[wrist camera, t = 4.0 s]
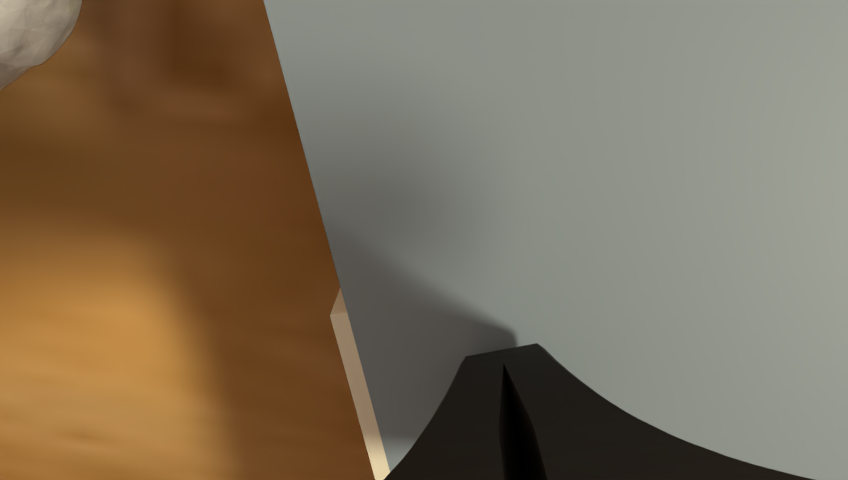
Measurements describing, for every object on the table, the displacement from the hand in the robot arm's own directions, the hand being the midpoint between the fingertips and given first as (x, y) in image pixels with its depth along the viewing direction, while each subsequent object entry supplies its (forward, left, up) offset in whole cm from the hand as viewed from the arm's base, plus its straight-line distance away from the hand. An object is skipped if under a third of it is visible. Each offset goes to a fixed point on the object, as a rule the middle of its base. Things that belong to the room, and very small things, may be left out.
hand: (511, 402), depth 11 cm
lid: (0, -3, -4) cm, 5 cm away
